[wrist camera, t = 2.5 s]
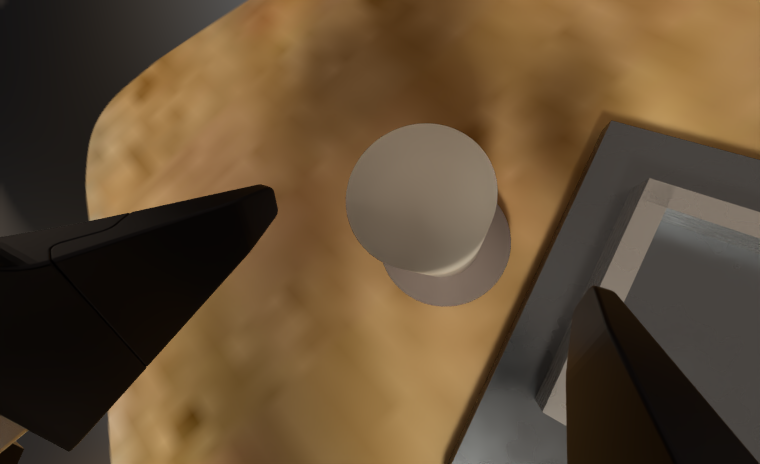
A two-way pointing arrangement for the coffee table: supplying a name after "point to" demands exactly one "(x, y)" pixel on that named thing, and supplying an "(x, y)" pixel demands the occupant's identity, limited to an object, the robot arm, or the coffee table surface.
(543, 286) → the keeper board
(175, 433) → the coffee table surface
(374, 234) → the beige flared base peg
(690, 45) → the coffee table surface
